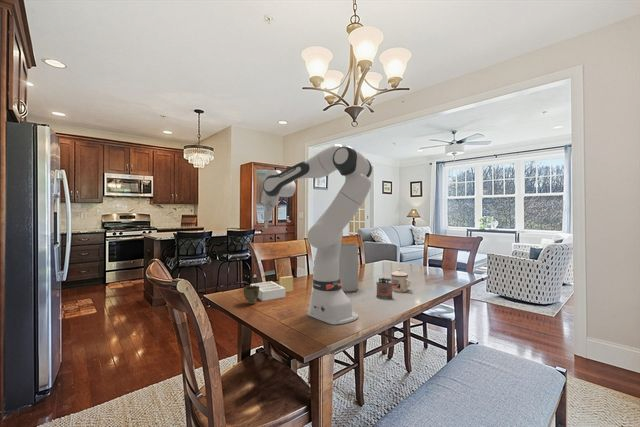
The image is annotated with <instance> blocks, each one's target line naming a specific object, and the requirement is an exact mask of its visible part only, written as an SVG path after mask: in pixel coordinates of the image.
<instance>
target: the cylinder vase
mask: <svg viewBox="0 0 640 427" xmlns="http://www.w3.org/2000/svg"><path fill="white" fill-rule="evenodd" d="M339 279H340V282H341V283H343V284H341V285H343V286H342V288H341V289H342V290H343V292H344V293H345V292H347V293H350V292H356V291H358V289H359V244H357V243H341V251H340V257H339Z"/></svg>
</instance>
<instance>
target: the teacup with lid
mask: <svg viewBox="0 0 640 427" xmlns="http://www.w3.org/2000/svg"><path fill="white" fill-rule="evenodd" d="M390 276H391V278H390V279H391V281H390V283H392V292H395V293H396V292H397V293H404V292H405V293H406V292H408V289H409V288H410V287H411V283H412V282H411V280H410V279H409V278H408V276H409V275H408V273H406V272H404V271H403V270H402V269H401V268H397V270H395V271H393V272H391V274H390Z"/></svg>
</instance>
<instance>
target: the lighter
mask: <svg viewBox="0 0 640 427" xmlns="http://www.w3.org/2000/svg"><path fill="white" fill-rule="evenodd" d="M375 297H376V298H378V299H384V300H385V299H387V300H392V299H393V290H392V283H391V278H388V277H386V278H385V277H384V276H383V277H378V281H376V296H375Z"/></svg>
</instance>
